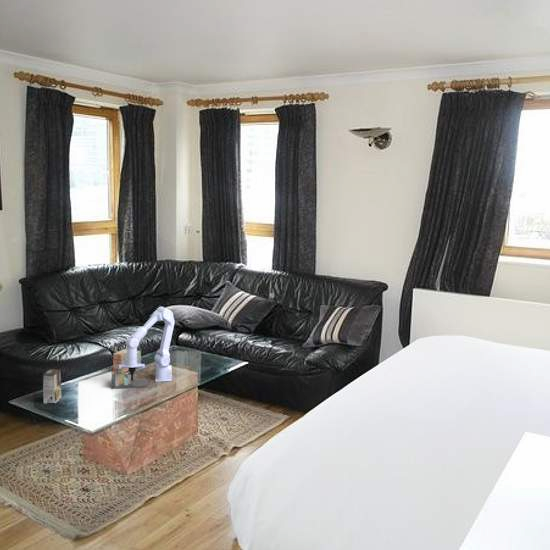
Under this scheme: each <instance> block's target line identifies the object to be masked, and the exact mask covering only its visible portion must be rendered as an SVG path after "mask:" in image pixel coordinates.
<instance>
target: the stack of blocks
mask: <svg viewBox="0 0 550 550" xmlns="http://www.w3.org/2000/svg"><path fill="white" fill-rule="evenodd" d="M141 354H142V351H141V350H137V364H142V355H141ZM112 358H113V359H112V362H113V363H112V364H113V365H112V367H113V369H112V371H113V373H114V374H115V373H116V374H125V373H127V372H129V371H128V370H129V368H121V369H119V365H122V364H127V348H124V349H122V350H118V351H116V352H114V353H113V354H112Z"/></svg>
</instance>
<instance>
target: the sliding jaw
mask: <svg viewBox="0 0 550 550" xmlns="http://www.w3.org/2000/svg"><path fill="white" fill-rule="evenodd" d="M123 374H124V386H128V384H130V380H131V374H130V372H129V371H127V373H123Z"/></svg>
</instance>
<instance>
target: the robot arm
mask: <svg viewBox="0 0 550 550" xmlns="http://www.w3.org/2000/svg"><path fill="white" fill-rule="evenodd" d="M161 321H163V323H164V327H163V332H162V336H161V342H160V347H159V348H158V350H157V351H156V354H155V355H154V361H155V363H156V364H155V378H154V380H155V382H156V383H157V382H159V383H161V382H172V379H173V374H172V373H173V372H172V371H173V370H172V364H170V363H171V358H170V357H171V354H170V352H169V350H170V346H171V341H172V336H173V333H174V332H173V331H174V327H175V324H176V323H175V317H174V313H173V311H172V310H170V309H169V308H166V307H164V306H158V308H156V310H155V311H153V314H152V315H151V316H150V317H149V318H148V320H147V321H146V322H145V323H144V325H142V326H139V327H137V328H136V330H135V331H134V332H133V333H132V334H131V335H130V336H128V337H127V338H126V341H124V342H125V345H126V349H127V364H122V365H119V369H121V368H129V371H128V372H130V374H131V380H134V375H135V372H136V369H137V368H139V369H140V368H143V369H145V367H146V364H145V363H141V364H137V351H138V346H139V345H140V342H141V341H142V339H144V337H145V336H146V335H147V333H148V330H149V329H150V328H152V327H153V325H154V324H156V323H157V322H161Z"/></svg>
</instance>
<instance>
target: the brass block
mask: <svg viewBox="0 0 550 550" xmlns="http://www.w3.org/2000/svg"><path fill="white" fill-rule="evenodd" d="M124 374H125V373H122V374H120V373H118V375H119V385H124Z"/></svg>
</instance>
